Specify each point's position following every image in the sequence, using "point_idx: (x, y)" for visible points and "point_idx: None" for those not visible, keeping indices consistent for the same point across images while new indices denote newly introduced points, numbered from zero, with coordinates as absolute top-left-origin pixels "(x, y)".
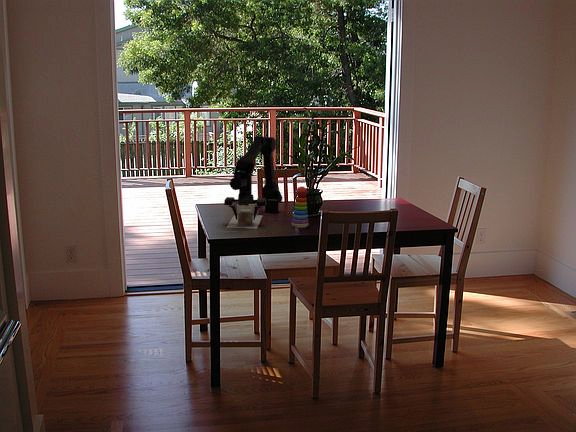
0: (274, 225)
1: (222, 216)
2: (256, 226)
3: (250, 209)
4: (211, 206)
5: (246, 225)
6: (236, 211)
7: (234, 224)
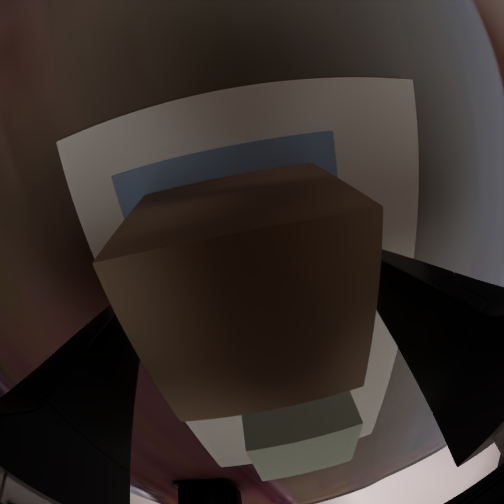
0: (45, 347)
1: (422, 401)
2: (95, 225)
3: (269, 478)
4: (430, 449)
5: (200, 183)
6: (432, 328)
7: None
